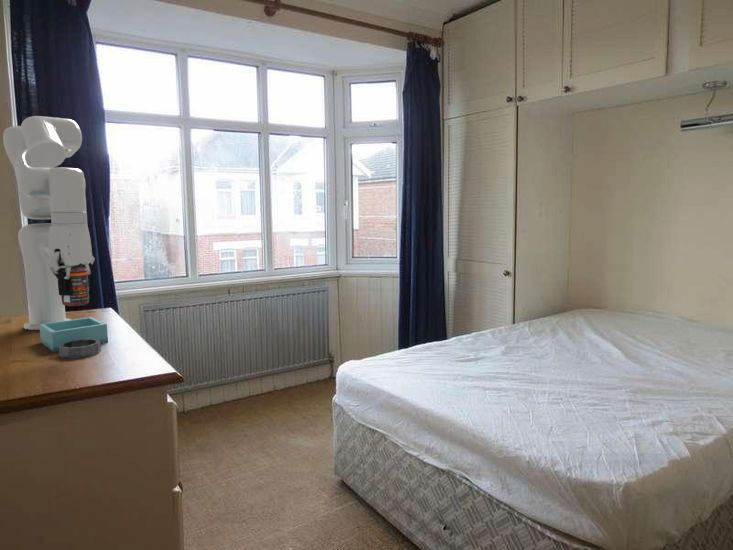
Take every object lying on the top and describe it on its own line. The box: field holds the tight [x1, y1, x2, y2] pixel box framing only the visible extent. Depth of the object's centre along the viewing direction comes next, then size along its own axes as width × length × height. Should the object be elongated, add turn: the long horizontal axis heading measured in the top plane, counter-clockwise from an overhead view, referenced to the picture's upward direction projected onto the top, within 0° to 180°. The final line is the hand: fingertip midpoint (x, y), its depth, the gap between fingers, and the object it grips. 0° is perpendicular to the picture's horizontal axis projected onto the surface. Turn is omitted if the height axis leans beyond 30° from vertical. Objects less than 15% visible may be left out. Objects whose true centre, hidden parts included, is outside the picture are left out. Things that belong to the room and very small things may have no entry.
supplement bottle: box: [61, 263, 90, 307], centre depth 125 cm, size 6×6×11 cm
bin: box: [39, 316, 109, 352], centre depth 137 cm, size 13×13×5 cm
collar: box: [58, 339, 102, 359], centre depth 127 cm, size 9×9×2 cm
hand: (75, 292), depth 125 cm, fingers closed on supplement bottle, 6 cm apart
